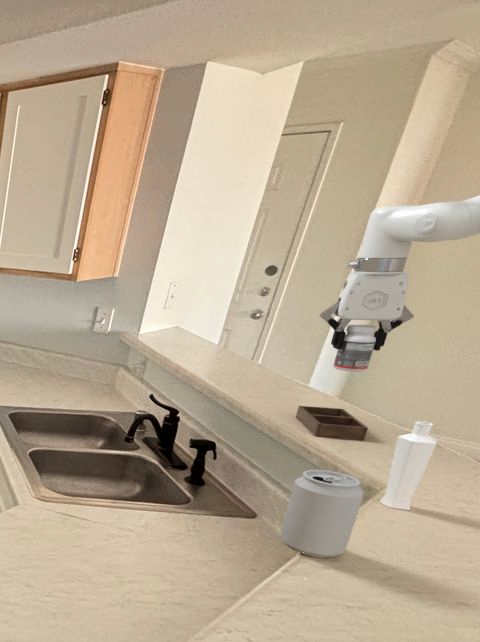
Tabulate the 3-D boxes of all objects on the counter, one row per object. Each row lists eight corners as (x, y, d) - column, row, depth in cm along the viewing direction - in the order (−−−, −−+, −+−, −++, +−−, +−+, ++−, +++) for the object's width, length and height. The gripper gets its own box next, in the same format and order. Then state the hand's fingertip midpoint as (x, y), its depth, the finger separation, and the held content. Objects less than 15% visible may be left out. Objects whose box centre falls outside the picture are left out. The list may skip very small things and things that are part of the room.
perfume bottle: (423, 511, 99) (454, 427, 94) (393, 510, 100) (422, 427, 95) (400, 499, 103) (429, 419, 98) (371, 499, 104) (398, 419, 99)
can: (267, 535, 94) (286, 466, 90) (322, 537, 93) (343, 467, 89) (297, 558, 87) (318, 485, 83) (356, 562, 86) (381, 487, 82)
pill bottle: (334, 365, 139) (346, 323, 135) (367, 368, 135) (381, 325, 131) (331, 369, 135) (343, 326, 132) (365, 373, 131) (379, 328, 128)
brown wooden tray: (339, 420, 144) (343, 408, 143) (364, 440, 131) (368, 427, 130) (295, 417, 148) (298, 405, 147) (314, 436, 135) (318, 423, 134)
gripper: (332, 268, 128) (310, 350, 134) (444, 266, 120) (415, 353, 126) (322, 266, 134) (301, 344, 140) (427, 264, 126) (400, 347, 132)
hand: (355, 348), depth 133 cm, fingers closed on pill bottle, 5 cm apart
